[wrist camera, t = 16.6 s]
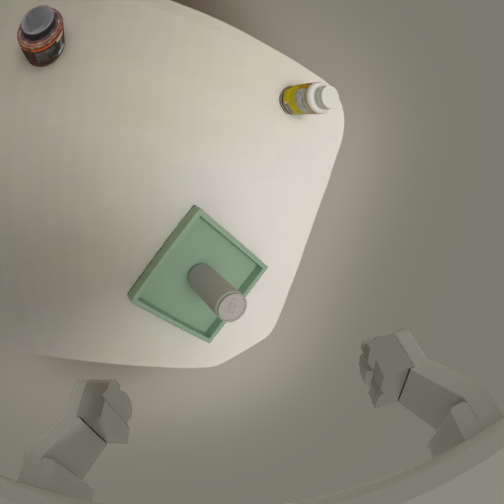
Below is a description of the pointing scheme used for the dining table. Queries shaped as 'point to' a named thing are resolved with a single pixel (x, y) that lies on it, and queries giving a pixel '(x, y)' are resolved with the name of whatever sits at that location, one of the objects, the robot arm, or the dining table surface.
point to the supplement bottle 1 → (41, 35)
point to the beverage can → (217, 293)
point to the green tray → (180, 264)
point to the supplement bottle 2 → (309, 99)
